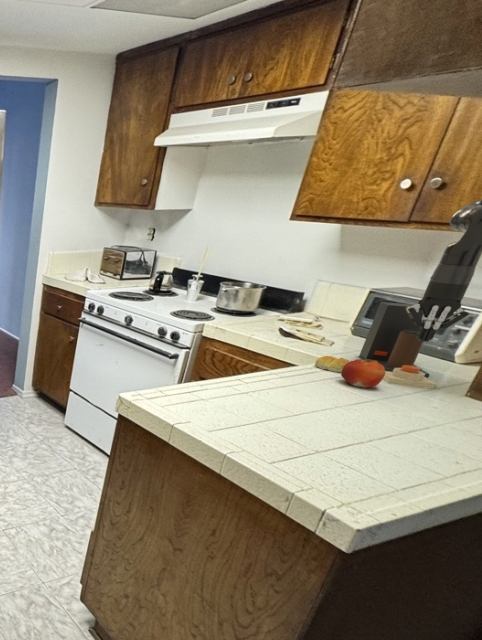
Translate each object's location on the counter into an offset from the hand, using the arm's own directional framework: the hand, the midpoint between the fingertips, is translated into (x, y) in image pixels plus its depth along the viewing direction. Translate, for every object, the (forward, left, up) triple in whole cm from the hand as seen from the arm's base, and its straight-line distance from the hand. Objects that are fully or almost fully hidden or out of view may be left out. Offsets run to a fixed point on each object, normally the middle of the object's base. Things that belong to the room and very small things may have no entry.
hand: (423, 340), depth 137 cm
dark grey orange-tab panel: (-2, -16, -13) cm, 21 cm away
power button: (0, 0, -10) cm, 10 cm away
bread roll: (+16, -5, -13) cm, 21 cm away
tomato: (+14, +11, -13) cm, 22 cm away
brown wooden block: (-2, -12, -11) cm, 16 cm away
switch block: (0, 0, -13) cm, 13 cm away
